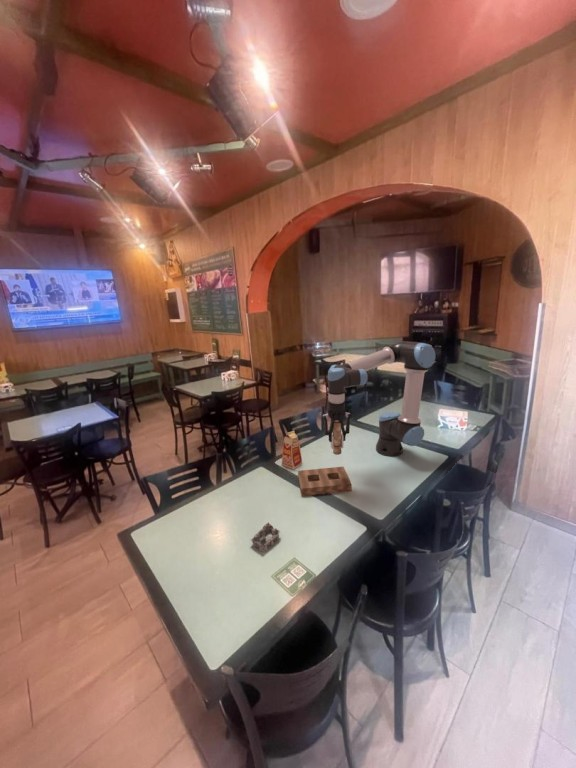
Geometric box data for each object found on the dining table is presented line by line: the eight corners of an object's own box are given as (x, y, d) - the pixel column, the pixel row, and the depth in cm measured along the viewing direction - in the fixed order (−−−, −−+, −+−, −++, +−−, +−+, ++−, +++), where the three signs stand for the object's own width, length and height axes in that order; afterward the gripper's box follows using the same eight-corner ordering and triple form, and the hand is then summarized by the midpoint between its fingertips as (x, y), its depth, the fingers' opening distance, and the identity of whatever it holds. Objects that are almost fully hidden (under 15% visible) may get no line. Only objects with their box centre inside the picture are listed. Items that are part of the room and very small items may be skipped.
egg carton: (269, 529, 127) (268, 521, 126) (282, 538, 122) (282, 529, 121) (249, 544, 120) (248, 536, 119) (262, 554, 115) (261, 545, 114)
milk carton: (294, 469, 171) (291, 435, 165) (281, 465, 176) (278, 432, 171) (303, 462, 178) (301, 429, 172) (290, 458, 183) (288, 426, 178)
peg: (340, 450, 154) (340, 420, 150) (342, 454, 150) (342, 423, 146) (332, 451, 153) (331, 420, 149) (334, 455, 149) (333, 424, 145)
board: (343, 473, 164) (343, 466, 162) (351, 491, 148) (351, 483, 147) (298, 477, 162) (297, 470, 161) (301, 496, 147) (301, 488, 146)
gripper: (352, 397, 149) (352, 442, 155) (317, 400, 148) (318, 445, 154) (357, 402, 142) (356, 449, 148) (319, 405, 141) (320, 452, 147)
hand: (337, 447), depth 151 cm, fingers closed on peg, 4 cm apart
